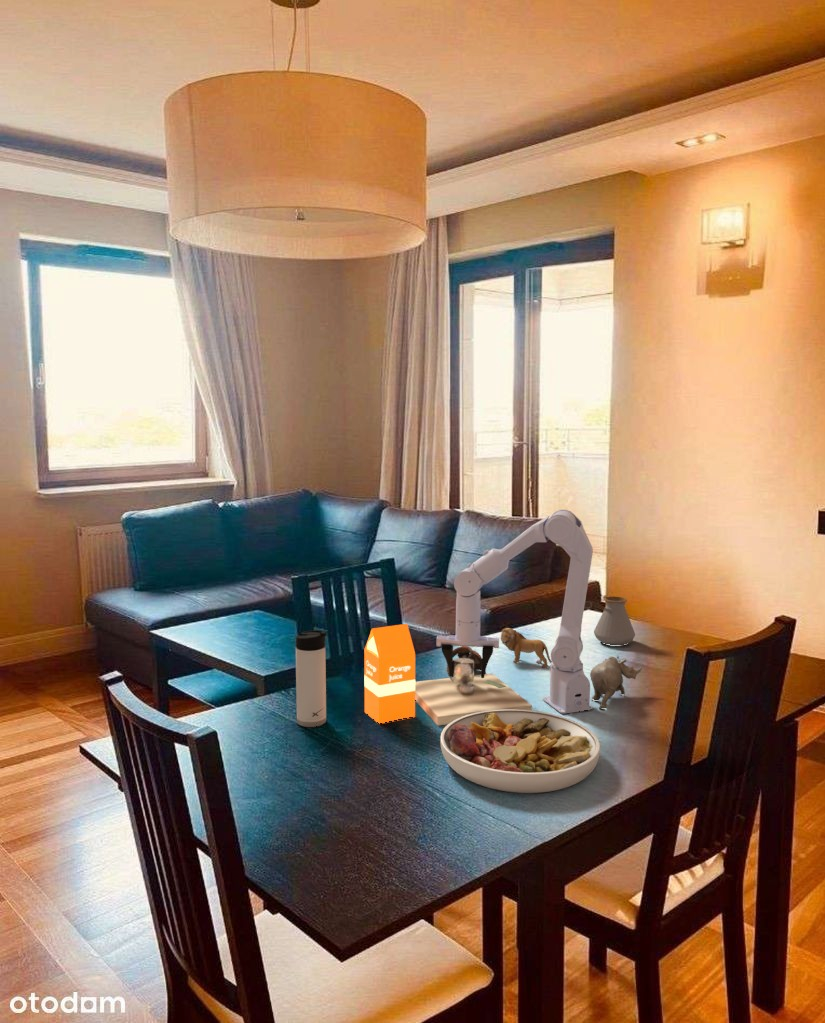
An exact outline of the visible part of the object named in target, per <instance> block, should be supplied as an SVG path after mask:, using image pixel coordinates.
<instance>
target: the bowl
mask: <svg viewBox="0 0 825 1023" xmlns="http://www.w3.org/2000/svg"><path fill="white" fill-rule="evenodd" d="M440 749H441V753H442V756H443V758H444V759H445V762H446V763H447V764H448V765H449V766H450V768H451V769H452V770H454V772H456V774H458V775H460V776H461V777H463V778H465V779H466V780H468V781H470V782H473V783H474V784H477V785H479V786H482V787H485V788H488V789H493V790H497V791H502V792H508V793H517V794H518V793H520V794H535V793H536V794H537V793H547V792H555V791H559V790H563V789H567V788H569V787H571V786H574V785H577V784H578V783H580V782H582V781H583V780H585V779H586V778H587V777H588V776H589V775H590V774H591V773H592V772H593V771H594V769H595V768H596V766H597V765H598V762H599V759H600V755H601V744H600V740H599V739H598V736H596V734H595V733H594V732H593V731H592V730H590V729H589V728H587V727H586V726H585V725H583V724H581V723H579V722H576V721H575V720H572V719H570V718H567V717H563V716H560V715H556V714H553V713H548V712H544V711H537V710H532V711H531V710H517V709H502V710H489V711H482V712H477V713H472V714H469V715H466V716H463V717H460V718H458V719H456V720H454V721H452V722H451V723H449V724H447V725H445V727H444V728H443V729H442V731H441V733H440Z"/></svg>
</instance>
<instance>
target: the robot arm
mask: <svg viewBox="0 0 825 1023" xmlns="http://www.w3.org/2000/svg"><path fill="white" fill-rule="evenodd" d="M548 541H551V542H553V543H554V544H556V545H558V546H559V547H561V548H562V549H563V550H564V551H565V553H566V554H567V555H568V556H569V558H570V560H569V568H568V573H567V574H568V575H567V580H566V587H565V593H564V599H563V600H564V601H563V605H562V606H563V607H562V612H561V618H560V619H561V620H560V626H559V630H558V635H557V638H556V640H555V642H554V646H553V647H552V649H551V652H550V660H551V661H552V662H551V663H550V674H549V675H550V678H549V680H550V682H549V696H544V697H542V700H543V701H544V702H546V704H548V705H549V706H550V707H552V708H553V709H554V710H556V711H557V712H559V713H560V714H570V713H580V712H585V711H584V710H588V711H591V710H590V709H593V710H594V708H593V706H591V705H590V701H591V698H590V696H591V682H590V680H589V678H588V677H587V676H586V675H585V672H584V664H583V663H584V662H582V660H581V659H580V657H581V654H582V651H583V650H584V644H583V640H582V637H581V636H582V634H581V633H582V625H583V624H582V623H583V617H584V611H585V610H584V609H585V607H586V603H585V602H586V598H587V592H588V585H589V578H590V572H591V567H592V566H591V565H592V560H593V555H594V554H593V553H594V550H593V549H594V548H593V546H592V543H591V541H590V539H589V537H588V535H587V532H586V531H585V528H584V526H583V523H582V520H580V519H579V517H578V516H576V514H574V513H573V512H572V511H570V510H569V509H559V510H556V511H555V512H554V513H553V514H552V515H551V516H550V515H548V516H546V517H544V518H542V519H540V520H539V521H537V522H535V523H534V524H533V525H531V526H529V527H528V528H527V529H526V530H525V531H523V532H521V534H519V535H518V536H517V537H515V538H514V539H513V540H511V541H510V542H509V543H508V544H507V545H505V546H504V547H502V548H501V549H498V548H491V549H490V550H489V549H486V550H484V551H483V552H482V556H481V557H480V558H478V559H477V560H475V561H474V562H473V563H472V562H469V563H467V565H466V566H467V568H464V569H463V570H462V571H460V572H459V573H458V574H457V575H456V577H455V578H454V581H453V587H454V590H455V591H456V600H455V635H453V634H451V635H437V636H436V647H441V652H442V654H443V657H444V659H445V661H446V664H448V668H449V673H450V676H449V678H453V660H454V659H453V658H454V657H453V650H454V647H462V646H468V647H470V648H474V647H475V648H482V651H481V652H482V655H481V658H482V669H481V670H480V671H481V672H480V675H481V678H484V674H485V670H486V669H487V666H488V663H489V662H490V659H491V658H492V655H493V653H494V649H500V638H499V637H491V636H490V637H489V636H482V635H481V613H482V612H481V608H482V607H481V606H482V603H481V602H482V601H481V588H482V587H483V585H487V584H488V583H490V582H491V581H493V580H494V579H496V578H497V577H499V576H500V575H501V574H502V573H504V572H505V571H507V570H508V568H509V562H510V560H512V559H514V558H515V557H516V556H518V555H519V554H521V553H522V552H524V551H526V550H527V549H528V548H529V547H531V546H533V545H534V544H535V543H547V542H548ZM486 671H487V670H486ZM579 711H580V712H579Z"/></svg>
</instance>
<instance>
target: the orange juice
mask: <svg viewBox="0 0 825 1023" xmlns="http://www.w3.org/2000/svg"><path fill="white" fill-rule="evenodd" d="M363 649H364V652H363V653H364V664H363V665H364V668H363V669H364V675H363V676H364V682H363V683H364V685H363V686H364V713H365V714H366V715H367V714H368V715H367V716H369V717H370V718H371V719H372V720H373V719H374V720H373V721H375V723H377V722H378V723H379V724H378V723H377V724H378V725H381V724H380V723H382V724H386V723H385V722H387V723H390V722H389V721H392V722H395V721H394V720H397V721H399V720H398V719H402V720H404V719H403V718H407V719H410V718H409V717H413V718H416V701H415V682H416V652H415V648H414V644H413V640H412V636H411V633H410V629H409V626H408V623H405V624H404V623H403V624H395V625H388V626H382V627H374V628H371V630H370V633H369V636H368V639H367V642H366V644H365V647H364V648H363Z"/></svg>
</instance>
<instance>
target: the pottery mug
mask: <svg viewBox="0 0 825 1023" xmlns="http://www.w3.org/2000/svg"><path fill="white" fill-rule="evenodd" d="M455 656H457V657H458V658H468V659H472V660H473V661H474V671H481V669H482V655H481V654H480V653H479V652H478V651H476V650H473V649H472V647H470V646H457V647H456V648H453V658H454V657H455ZM446 664H447V663H446ZM446 672H447V675H448V676H449V677H450V673H449V668H448V664H447V665H446ZM485 674H487V670H485Z"/></svg>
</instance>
